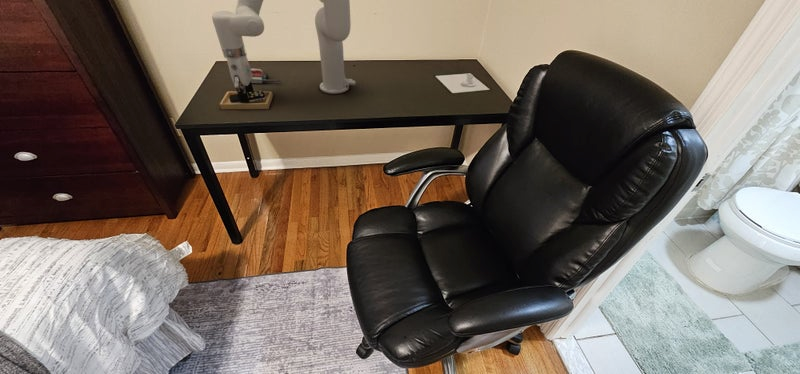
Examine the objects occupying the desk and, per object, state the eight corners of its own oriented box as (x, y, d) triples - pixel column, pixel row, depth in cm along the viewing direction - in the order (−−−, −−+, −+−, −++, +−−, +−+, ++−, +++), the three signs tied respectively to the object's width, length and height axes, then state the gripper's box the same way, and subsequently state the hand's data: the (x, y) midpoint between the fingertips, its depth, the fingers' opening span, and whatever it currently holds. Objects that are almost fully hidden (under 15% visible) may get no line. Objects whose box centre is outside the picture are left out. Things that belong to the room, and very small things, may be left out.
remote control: (229, 99, 122) (228, 94, 121) (263, 93, 127) (262, 89, 126) (231, 106, 119) (230, 101, 117) (266, 100, 124) (265, 95, 122)
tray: (272, 96, 129) (271, 91, 128) (268, 108, 121) (267, 103, 119) (228, 96, 126) (227, 91, 125) (221, 109, 118) (219, 104, 117)
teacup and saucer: (463, 87, 147) (464, 79, 145) (455, 81, 153) (457, 72, 150) (479, 86, 150) (481, 78, 147) (471, 79, 155) (473, 71, 153)
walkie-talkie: (233, 83, 135) (280, 85, 137) (230, 73, 132) (278, 75, 134) (239, 75, 142) (284, 77, 144) (236, 65, 139) (282, 67, 141)
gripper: (239, 60, 105) (253, 108, 117) (250, 43, 118) (261, 88, 129) (215, 60, 104) (231, 108, 115) (229, 43, 117) (242, 88, 128)
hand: (247, 97), depth 122 cm, fingers closed on remote control, 7 cm apart
